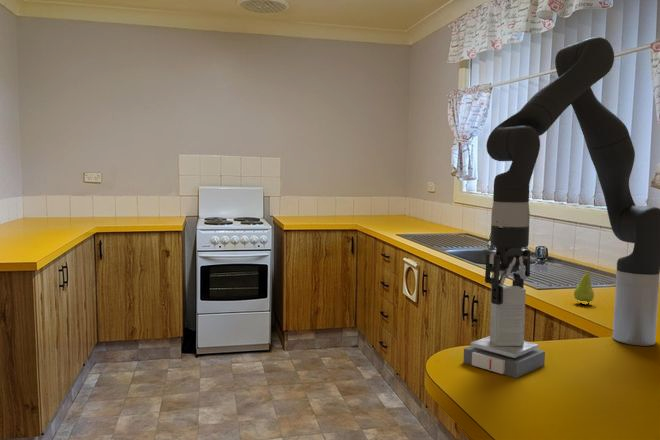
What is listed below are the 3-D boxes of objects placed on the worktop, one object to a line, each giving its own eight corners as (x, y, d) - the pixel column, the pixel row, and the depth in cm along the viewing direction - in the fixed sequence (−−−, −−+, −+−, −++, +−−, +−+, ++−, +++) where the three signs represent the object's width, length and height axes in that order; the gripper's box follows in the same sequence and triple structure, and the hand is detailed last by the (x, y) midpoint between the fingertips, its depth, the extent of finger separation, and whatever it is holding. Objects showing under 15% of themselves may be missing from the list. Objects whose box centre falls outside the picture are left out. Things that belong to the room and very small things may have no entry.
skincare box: (516, 340, 116) (519, 285, 115) (524, 346, 112) (526, 289, 111) (488, 340, 116) (490, 285, 115) (494, 346, 112) (497, 289, 111)
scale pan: (495, 339, 121) (495, 334, 121) (538, 350, 114) (538, 344, 114) (470, 348, 114) (470, 342, 114) (514, 360, 107) (514, 354, 107)
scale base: (493, 351, 123) (493, 338, 123) (544, 365, 114) (545, 351, 114) (460, 363, 114) (461, 349, 114) (513, 379, 105) (514, 364, 105)
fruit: (569, 303, 175) (571, 266, 175) (584, 302, 177) (586, 265, 176) (582, 307, 170) (584, 269, 169) (597, 306, 172) (599, 268, 171)
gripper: (510, 221, 120) (508, 293, 121) (475, 224, 110) (473, 302, 111) (543, 223, 114) (540, 299, 116) (509, 226, 105) (506, 309, 106)
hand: (507, 300), depth 113 cm, fingers open, 8 cm apart
